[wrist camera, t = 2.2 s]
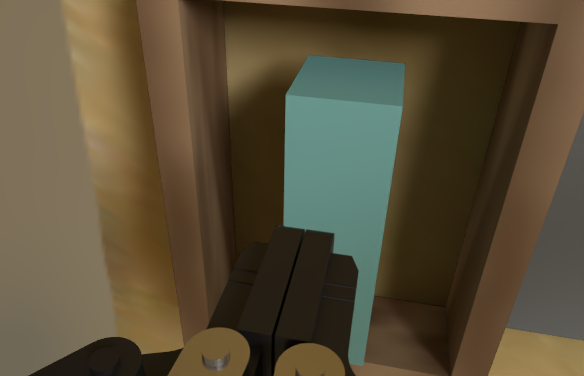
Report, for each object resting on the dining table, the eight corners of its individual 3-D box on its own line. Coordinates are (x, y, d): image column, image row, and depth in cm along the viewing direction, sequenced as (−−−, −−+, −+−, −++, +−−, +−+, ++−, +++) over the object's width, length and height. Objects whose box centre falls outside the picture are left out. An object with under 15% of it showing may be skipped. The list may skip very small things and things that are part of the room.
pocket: (586, -51, 20) (635, -29, 16) (468, 331, 33) (477, 404, 28) (182, -70, 23) (128, -56, 19) (213, 288, 36) (184, 348, 31)
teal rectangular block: (404, 63, 21) (402, 106, 17) (370, 298, 29) (363, 366, 25) (308, 55, 22) (285, 94, 18) (299, 287, 30) (281, 351, 26)
